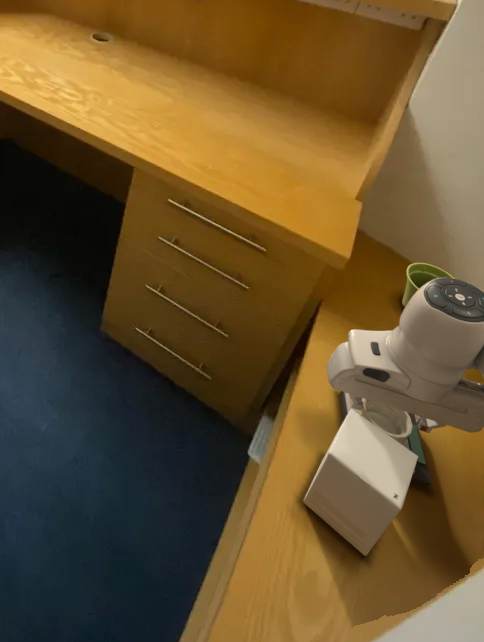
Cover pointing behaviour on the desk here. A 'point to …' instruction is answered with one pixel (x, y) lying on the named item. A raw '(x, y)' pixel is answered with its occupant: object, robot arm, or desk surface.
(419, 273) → the plant pot
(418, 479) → the scale
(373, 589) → the desk surface
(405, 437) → the bowl
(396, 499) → the rectangular carton
